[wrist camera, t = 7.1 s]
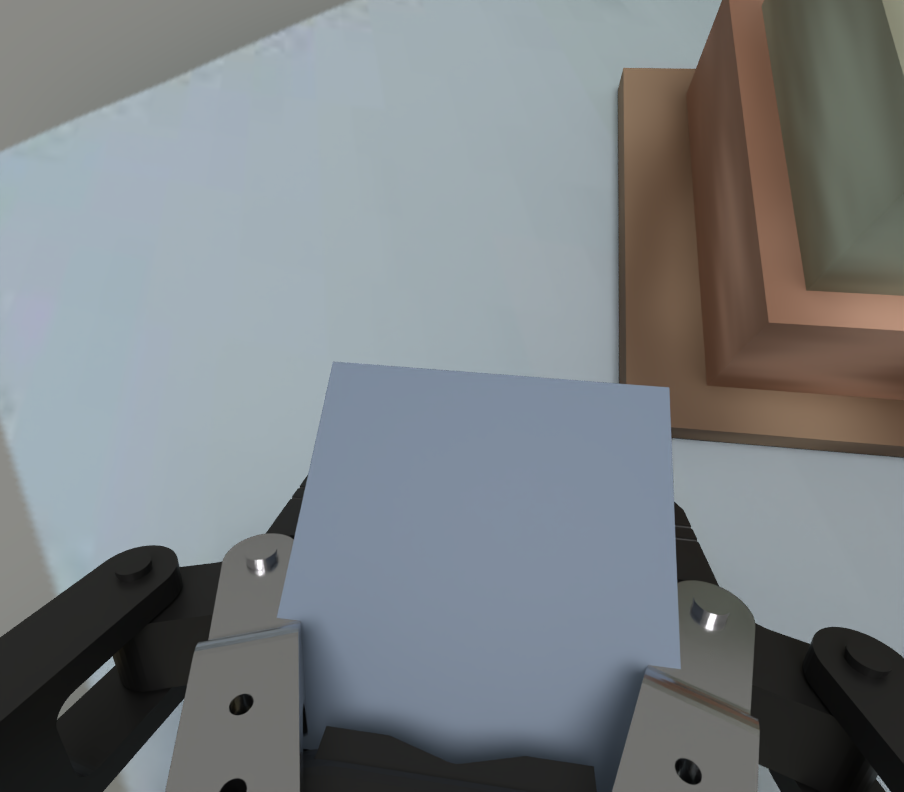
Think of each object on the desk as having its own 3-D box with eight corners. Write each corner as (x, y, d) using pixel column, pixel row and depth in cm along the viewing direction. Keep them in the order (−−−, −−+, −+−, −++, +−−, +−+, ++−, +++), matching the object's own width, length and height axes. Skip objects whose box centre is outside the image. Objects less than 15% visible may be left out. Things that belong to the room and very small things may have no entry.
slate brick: (578, 497, 17) (669, 387, 8) (573, 692, 15) (686, 809, 6) (409, 480, 17) (333, 361, 9) (382, 666, 15) (249, 740, 7)
